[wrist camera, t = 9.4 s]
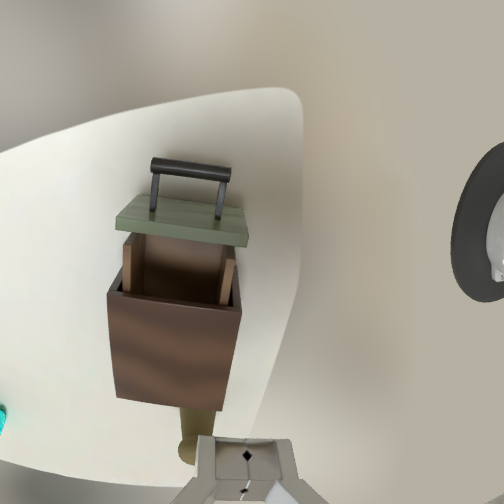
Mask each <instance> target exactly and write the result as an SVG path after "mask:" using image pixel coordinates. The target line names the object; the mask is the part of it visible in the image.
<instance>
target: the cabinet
mask: <svg viewBox="0 0 504 504" xmlns="http://www.w3.org/2000/svg"><path fill="white" fill-rule="evenodd" d="M107 312H108V327H109V339H110V350H111V359H112V368H113V376H114V384H115V391H116V397H117V398H123V399H128V400H134V401H140V402H146V403H152V404H159V405H166V406H173V407H181V408H190V409H199V410H210V411H222V408H223V403H224V398H225V393H226V388H227V384H228V379H229V374H230V369H231V364H232V359H233V355H234V350H235V345H236V340H237V335H238V330H239V325H240V321H241V316H242V308H241V298H240V289H239V280H238V270H237V266H234V272H233V277H232V283H231V289H230V294H229V300H228V306H219V305H211V304H203V303H195V302H187V301H180V300H172V299H165V298H158V297H151V296H145V295H138V294H132V293H125V292H123V266H122V268H121V269H120V271H119V273H118V274H117V276H116V278H115V280H114V281H113V283H112V285H111V287H110V289H109V291H108V292H107Z"/></svg>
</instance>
